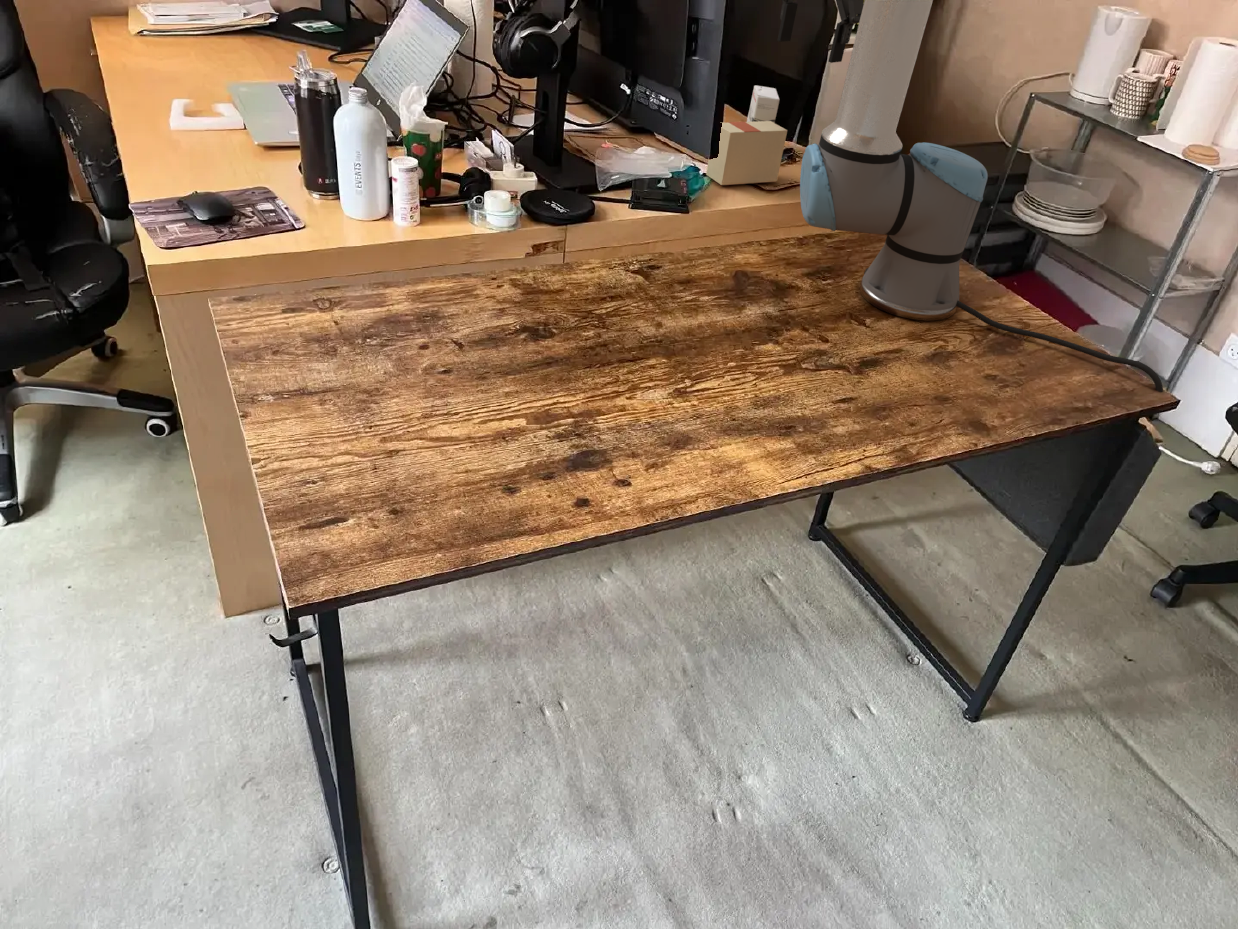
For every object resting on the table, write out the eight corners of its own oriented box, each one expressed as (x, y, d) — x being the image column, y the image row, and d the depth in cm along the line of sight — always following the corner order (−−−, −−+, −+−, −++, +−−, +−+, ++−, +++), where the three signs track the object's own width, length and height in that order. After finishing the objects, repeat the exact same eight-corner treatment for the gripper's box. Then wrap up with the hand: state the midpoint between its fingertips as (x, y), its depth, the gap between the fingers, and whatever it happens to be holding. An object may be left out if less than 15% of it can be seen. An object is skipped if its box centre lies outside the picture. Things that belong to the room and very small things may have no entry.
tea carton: (760, 171, 184) (770, 120, 178) (776, 181, 180) (787, 129, 174) (706, 174, 178) (714, 122, 173) (721, 185, 174) (730, 132, 168)
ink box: (768, 155, 193) (780, 98, 186) (745, 152, 193) (757, 95, 186) (764, 142, 200) (776, 86, 193) (742, 139, 200) (753, 83, 193)
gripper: (907, -65, 150) (871, 69, 163) (802, -94, 165) (777, 31, 178) (877, -65, 146) (843, 72, 159) (772, -95, 161) (749, 33, 174)
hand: (808, 50), depth 169 cm, fingers open, 13 cm apart
